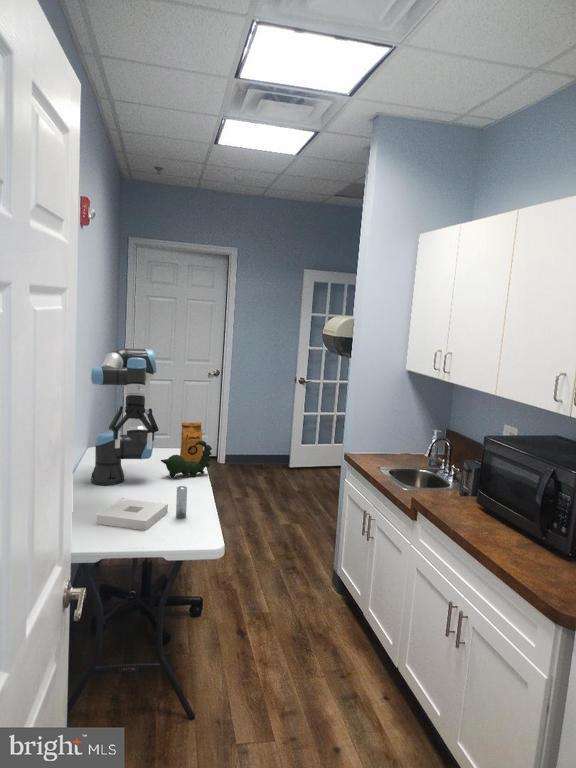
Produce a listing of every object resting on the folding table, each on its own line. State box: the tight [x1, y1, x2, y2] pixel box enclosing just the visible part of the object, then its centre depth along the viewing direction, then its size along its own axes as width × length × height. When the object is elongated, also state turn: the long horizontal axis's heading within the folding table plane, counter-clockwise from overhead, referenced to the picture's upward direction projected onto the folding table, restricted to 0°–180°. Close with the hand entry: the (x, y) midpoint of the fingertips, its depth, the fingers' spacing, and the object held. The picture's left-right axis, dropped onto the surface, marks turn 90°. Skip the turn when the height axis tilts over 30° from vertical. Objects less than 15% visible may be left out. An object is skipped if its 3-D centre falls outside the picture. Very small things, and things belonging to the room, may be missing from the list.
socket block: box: [95, 497, 169, 531], centre depth 213 cm, size 20×20×4 cm
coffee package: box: [179, 421, 204, 463], centre depth 299 cm, size 10×12×22 cm
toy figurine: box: [160, 440, 213, 478], centre depth 271 cm, size 9×19×25 cm
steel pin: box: [175, 485, 188, 519], centre depth 216 cm, size 4×4×12 cm
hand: (133, 448), depth 216 cm, fingers open, 13 cm apart
